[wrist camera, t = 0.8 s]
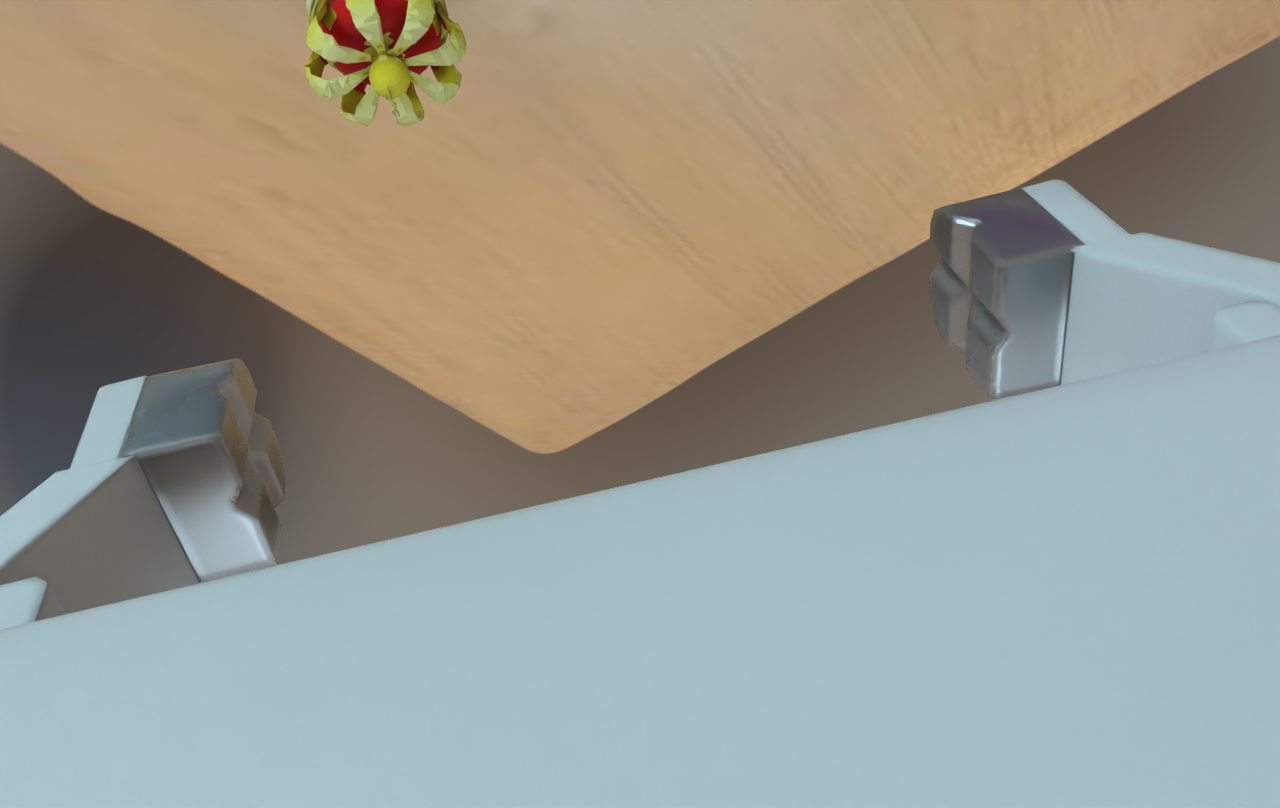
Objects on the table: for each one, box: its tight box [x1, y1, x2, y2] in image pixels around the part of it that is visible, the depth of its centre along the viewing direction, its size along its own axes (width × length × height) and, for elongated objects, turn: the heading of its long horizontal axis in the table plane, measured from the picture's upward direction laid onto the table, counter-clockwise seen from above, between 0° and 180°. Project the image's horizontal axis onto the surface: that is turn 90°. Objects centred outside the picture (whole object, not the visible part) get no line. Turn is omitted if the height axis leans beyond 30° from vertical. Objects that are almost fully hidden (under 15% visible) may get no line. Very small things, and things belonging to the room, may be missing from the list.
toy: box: [305, 0, 466, 126], centre depth 53 cm, size 7×7×15 cm
